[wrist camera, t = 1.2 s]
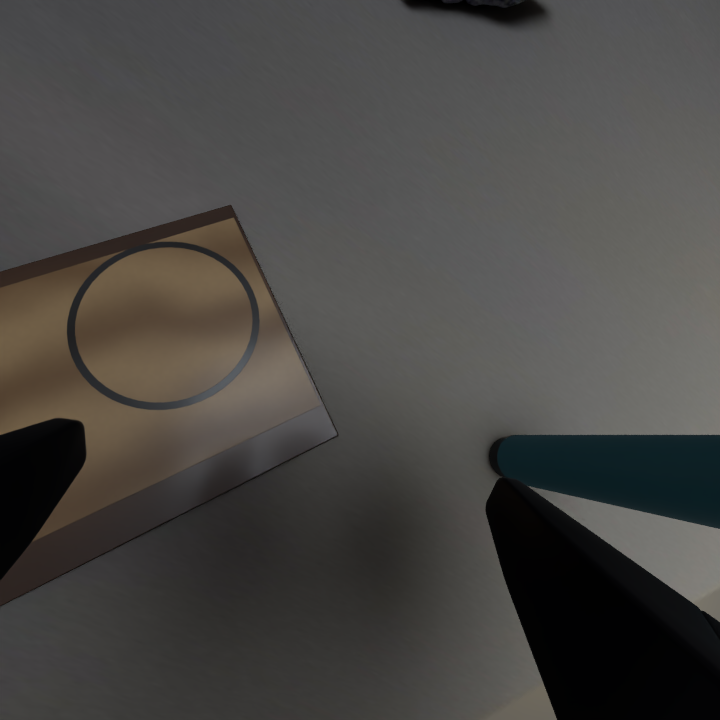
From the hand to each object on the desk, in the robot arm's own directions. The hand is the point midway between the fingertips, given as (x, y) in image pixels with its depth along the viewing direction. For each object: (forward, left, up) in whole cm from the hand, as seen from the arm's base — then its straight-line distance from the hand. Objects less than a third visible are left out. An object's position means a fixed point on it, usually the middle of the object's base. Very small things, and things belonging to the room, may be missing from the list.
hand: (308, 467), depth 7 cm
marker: (-6, -11, -12) cm, 18 cm away
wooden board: (+8, +8, -12) cm, 17 cm away
